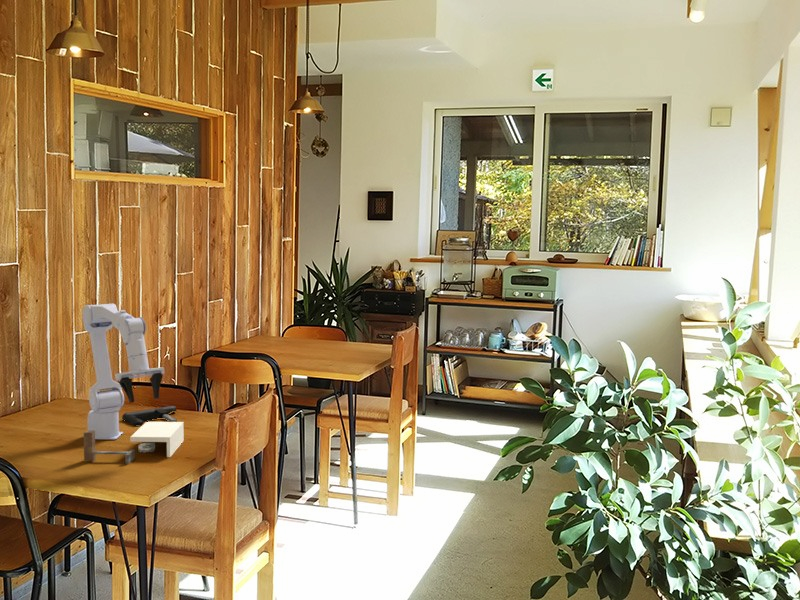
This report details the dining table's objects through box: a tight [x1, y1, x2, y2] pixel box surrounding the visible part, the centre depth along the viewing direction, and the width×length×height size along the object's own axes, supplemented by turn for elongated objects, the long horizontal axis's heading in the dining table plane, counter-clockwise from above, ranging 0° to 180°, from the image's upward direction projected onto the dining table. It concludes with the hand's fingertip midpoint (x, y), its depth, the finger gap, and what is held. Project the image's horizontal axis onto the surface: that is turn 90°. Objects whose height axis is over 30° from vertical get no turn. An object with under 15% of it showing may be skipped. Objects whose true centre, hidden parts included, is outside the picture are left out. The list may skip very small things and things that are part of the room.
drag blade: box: [83, 429, 136, 465], centre depth 251 cm, size 14×6×9 cm, turn 91°
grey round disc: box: [138, 442, 156, 454], centre depth 263 cm, size 5×5×2 cm
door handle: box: [121, 405, 178, 427], centre depth 300 cm, size 3×20×16 cm
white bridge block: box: [129, 421, 185, 458], centre depth 265 cm, size 12×18×6 cm, turn 1°
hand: (144, 400), depth 254 cm, fingers open, 7 cm apart
